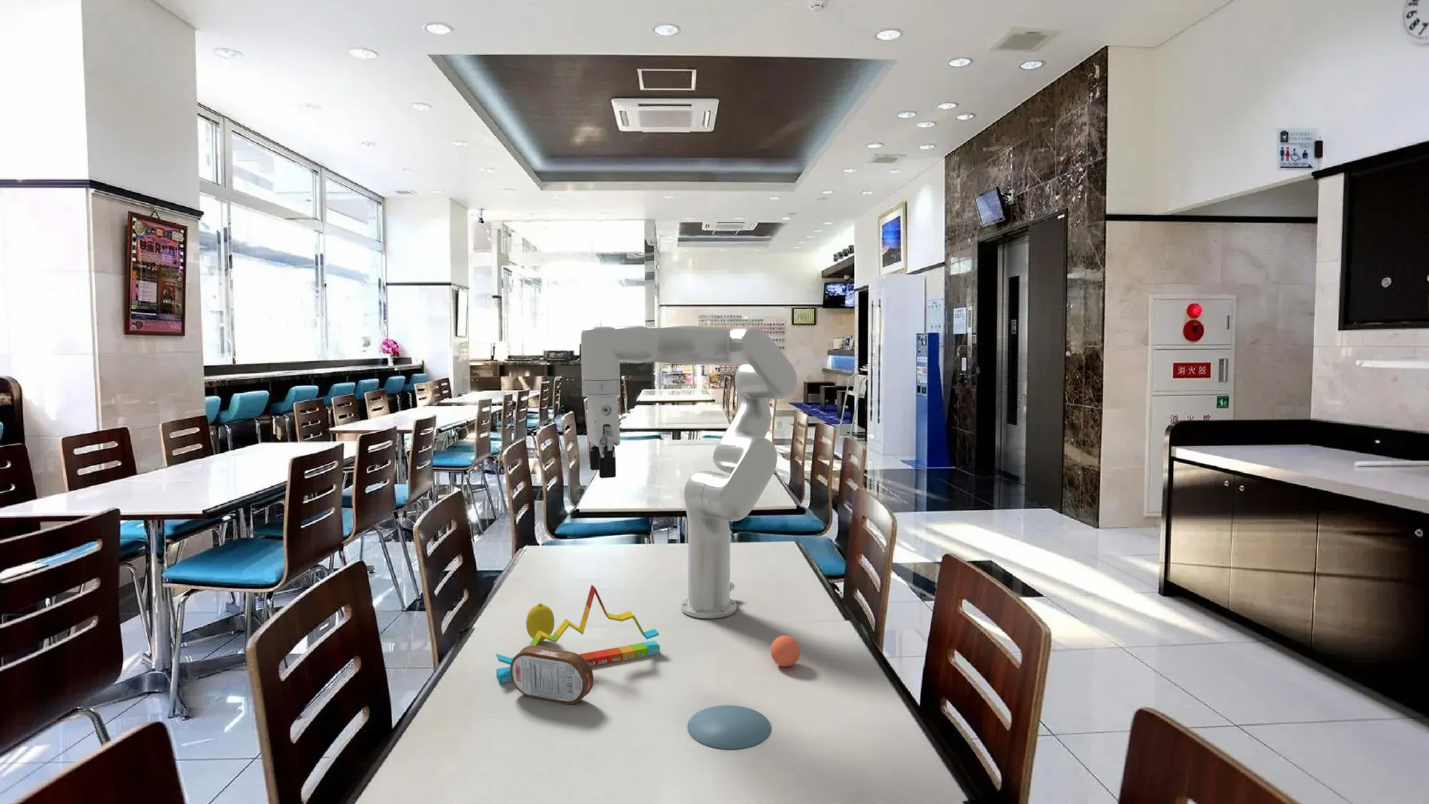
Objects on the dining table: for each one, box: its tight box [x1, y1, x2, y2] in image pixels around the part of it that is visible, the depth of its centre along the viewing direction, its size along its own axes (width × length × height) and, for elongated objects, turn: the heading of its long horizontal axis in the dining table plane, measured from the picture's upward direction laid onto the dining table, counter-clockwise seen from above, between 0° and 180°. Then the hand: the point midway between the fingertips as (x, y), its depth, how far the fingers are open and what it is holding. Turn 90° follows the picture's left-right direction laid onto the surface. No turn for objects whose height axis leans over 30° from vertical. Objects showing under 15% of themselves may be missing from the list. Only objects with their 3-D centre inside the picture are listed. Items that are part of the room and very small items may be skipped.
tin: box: [509, 645, 595, 705], centre depth 123 cm, size 15×3×8 cm, turn 71°
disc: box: [687, 704, 771, 750], centre depth 115 cm, size 13×13×1 cm
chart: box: [495, 584, 661, 685], centre depth 136 cm, size 30×3×15 cm, turn 116°
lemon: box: [525, 602, 555, 643], centre depth 147 cm, size 6×6×8 cm
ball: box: [770, 635, 801, 668], centre depth 137 cm, size 6×6×6 cm
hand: (602, 473), depth 147 cm, fingers open, 9 cm apart
